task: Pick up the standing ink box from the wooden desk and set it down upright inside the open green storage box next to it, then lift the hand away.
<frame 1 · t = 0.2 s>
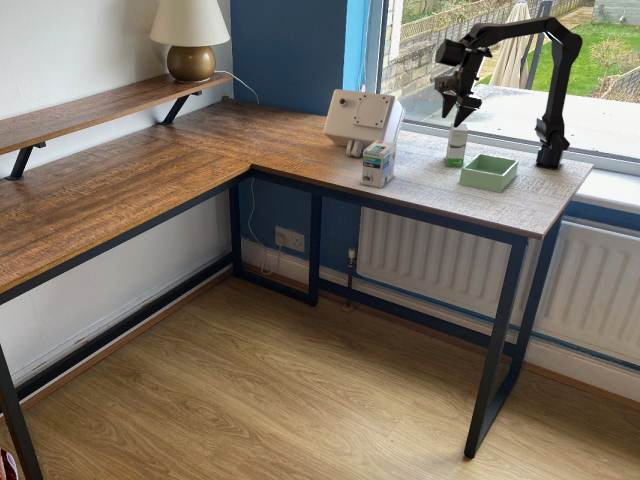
hand: (448, 122, 181), 15 cm above the table, tool pointing down, fingers open, 9 cm apart
ink box: (454, 162, 195), on the table
light bulb box: (377, 181, 184), on the table
open green storage box: (487, 179, 182), on the table
junction box: (362, 150, 208), on the table
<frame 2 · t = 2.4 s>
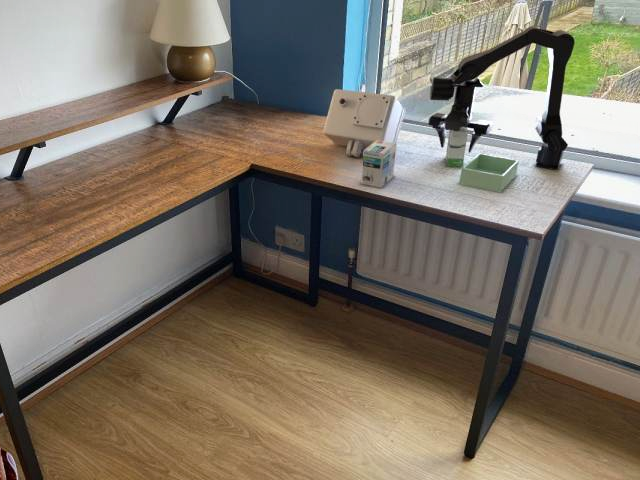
hand: (455, 149, 193), 4 cm above the table, tool pointing down
ink box: (454, 162, 195), on the table, touching gripper
everything else where it was.
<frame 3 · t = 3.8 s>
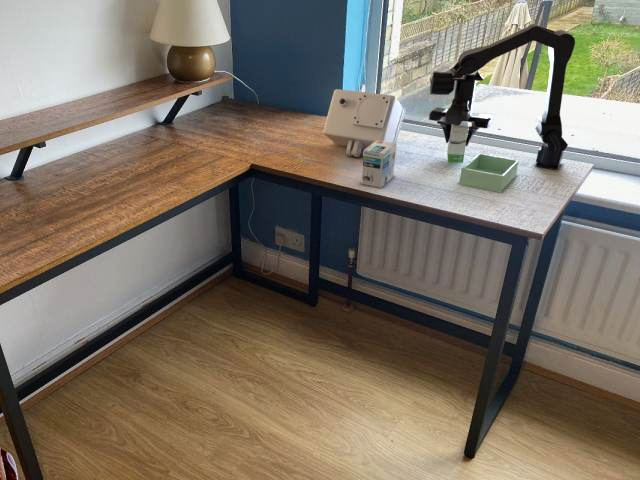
hand: (456, 144, 192), 6 cm above the table, tool pointing down, fingers closed on ink box, 6 cm apart
ink box: (455, 158, 194), point 1 cm above the table, touching gripper
everything else where it was.
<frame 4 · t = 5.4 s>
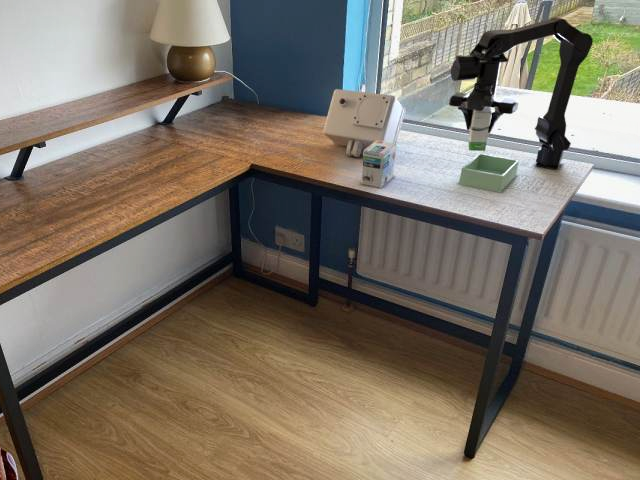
hand: (478, 131, 181), 13 cm above the table, tool pointing down, fingers closed on ink box, 6 cm apart
ink box: (476, 146, 184), point 8 cm above the table, touching gripper
everything else where it was.
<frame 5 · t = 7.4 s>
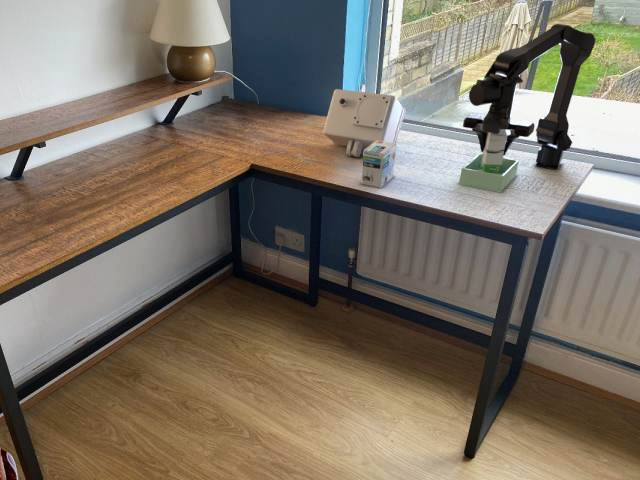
hand: (493, 153, 177), 8 cm above the table, tool pointing down, fingers closed on ink box, 6 cm apart
ink box: (490, 168, 180), point 3 cm above the table, touching gripper
everything else where it was.
when the fingers open (5 cm above the table, at t = 8.7 s): ink box stays where it is, resting on open green storage box.
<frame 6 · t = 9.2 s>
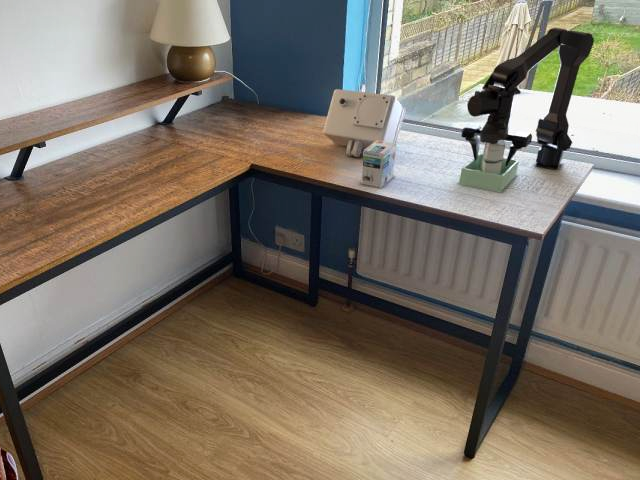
hand: (490, 163, 179), 5 cm above the table, tool pointing down, fingers open, 9 cm apart
ink box: (488, 178, 182), resting on open green storage box
everything else where it was.
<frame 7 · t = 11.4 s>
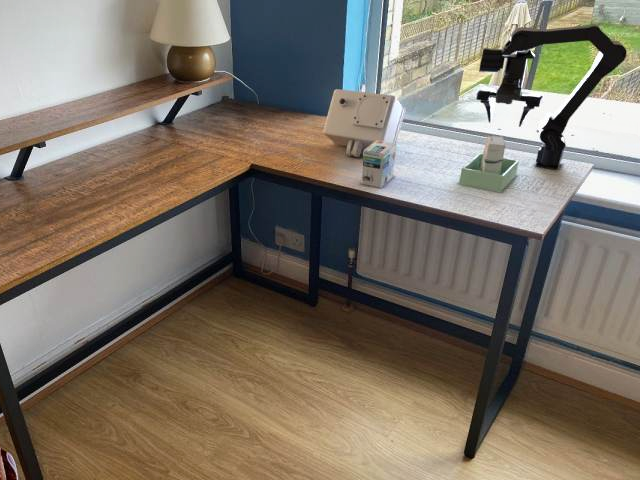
hand: (504, 124, 188), 12 cm above the table, tool pointing down, fingers open, 9 cm apart
nothing on the table moved.
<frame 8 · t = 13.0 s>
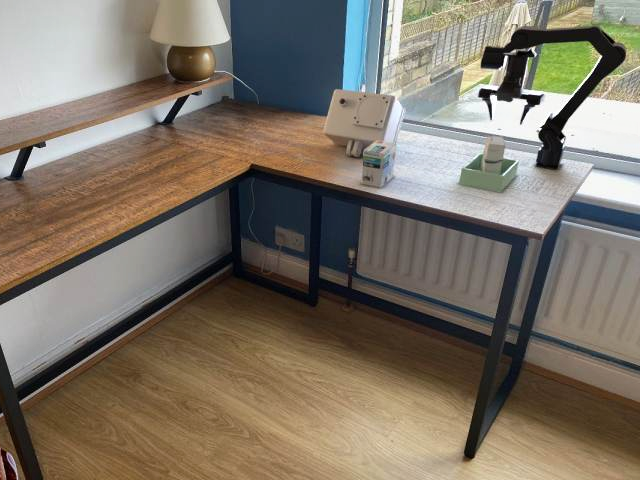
hand: (505, 122, 190), 12 cm above the table, tool pointing down, fingers open, 9 cm apart
nothing on the table moved.
at the end: ink box inside the target area in the open green storage box (0.2 cm from its centre), point 0.3 cm above the open green storage box's base; ink box tilted 0°; the gripper is holding nothing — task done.
